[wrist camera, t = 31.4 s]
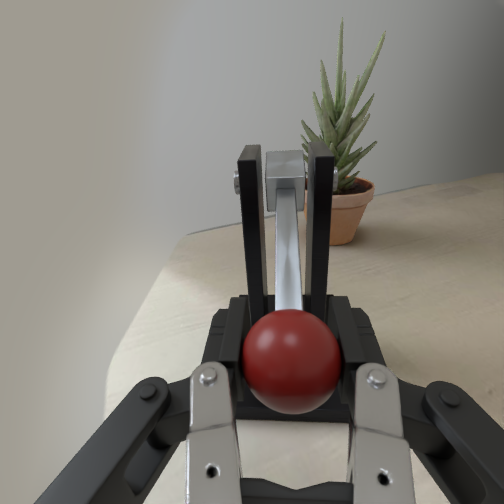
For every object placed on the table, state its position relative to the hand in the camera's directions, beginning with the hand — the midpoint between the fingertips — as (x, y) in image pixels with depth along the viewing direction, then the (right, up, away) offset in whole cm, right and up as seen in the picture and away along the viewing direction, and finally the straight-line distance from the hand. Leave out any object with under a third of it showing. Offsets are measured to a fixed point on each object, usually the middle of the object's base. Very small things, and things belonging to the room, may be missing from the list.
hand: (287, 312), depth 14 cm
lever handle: (0, +2, +2) cm, 3 cm away
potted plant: (+9, +5, +30) cm, 31 cm away
